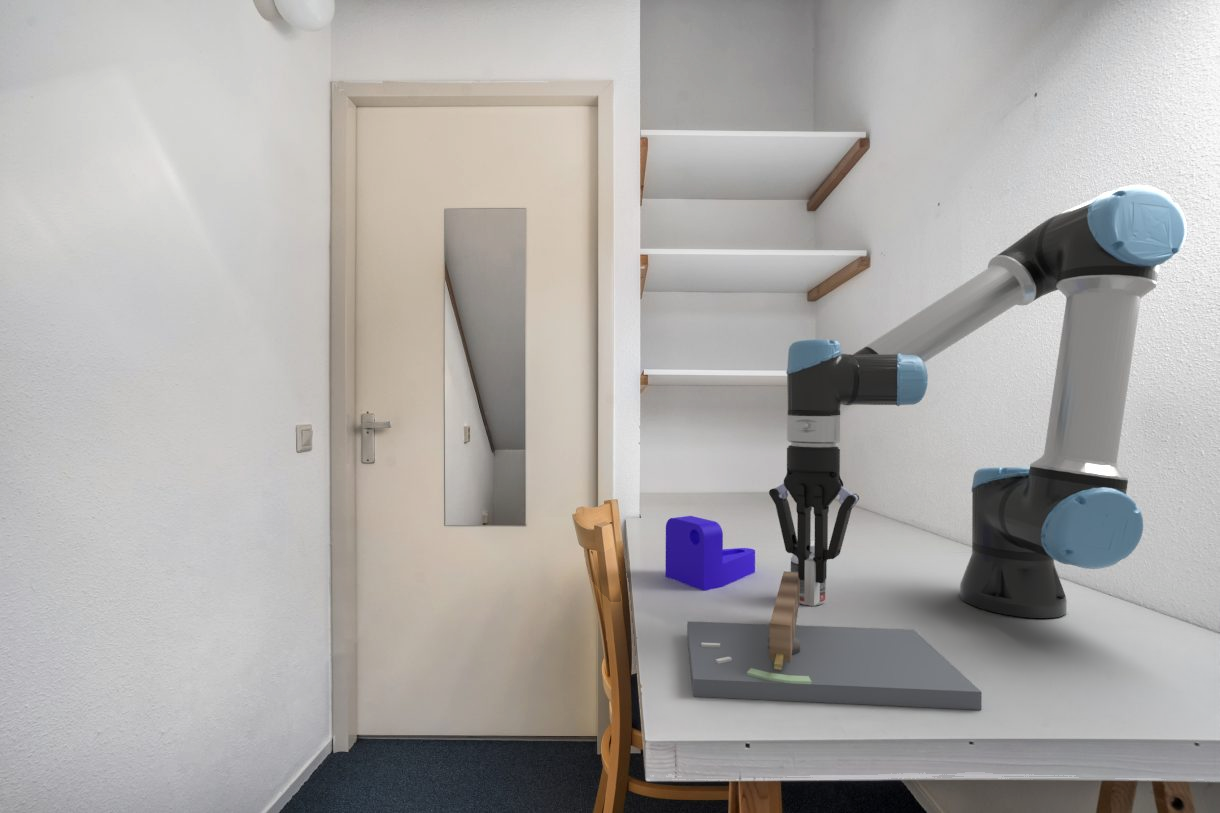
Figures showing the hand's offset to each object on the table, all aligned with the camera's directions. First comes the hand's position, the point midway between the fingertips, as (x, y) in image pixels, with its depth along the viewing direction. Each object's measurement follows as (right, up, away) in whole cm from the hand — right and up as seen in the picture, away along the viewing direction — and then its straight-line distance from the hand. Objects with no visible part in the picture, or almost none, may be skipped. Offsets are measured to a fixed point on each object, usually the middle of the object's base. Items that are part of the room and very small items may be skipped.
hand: (812, 602), depth 94 cm
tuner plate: (-4, -4, -14) cm, 15 cm away
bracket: (-9, -4, +28) cm, 30 cm away
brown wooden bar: (-7, -2, -9) cm, 11 cm away
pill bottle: (+4, -4, +13) cm, 14 cm away
